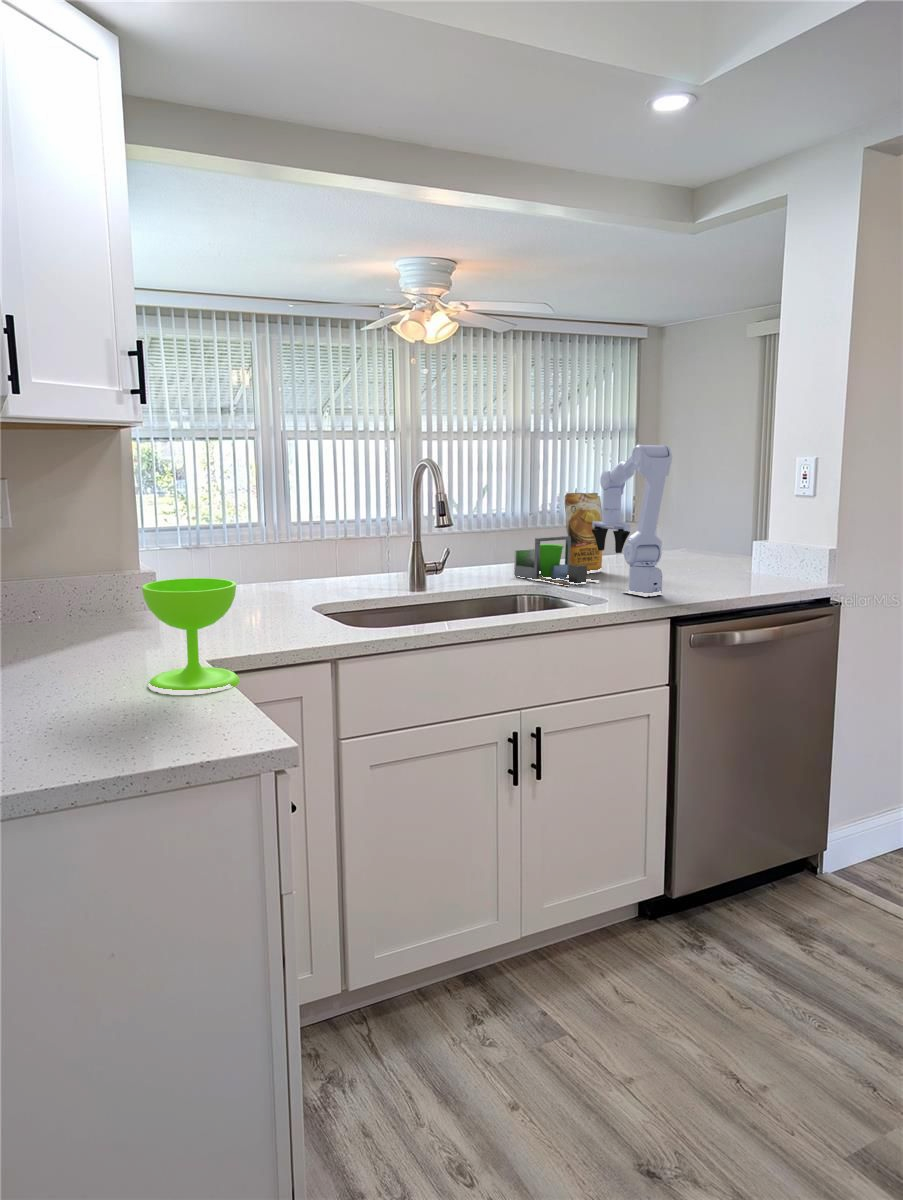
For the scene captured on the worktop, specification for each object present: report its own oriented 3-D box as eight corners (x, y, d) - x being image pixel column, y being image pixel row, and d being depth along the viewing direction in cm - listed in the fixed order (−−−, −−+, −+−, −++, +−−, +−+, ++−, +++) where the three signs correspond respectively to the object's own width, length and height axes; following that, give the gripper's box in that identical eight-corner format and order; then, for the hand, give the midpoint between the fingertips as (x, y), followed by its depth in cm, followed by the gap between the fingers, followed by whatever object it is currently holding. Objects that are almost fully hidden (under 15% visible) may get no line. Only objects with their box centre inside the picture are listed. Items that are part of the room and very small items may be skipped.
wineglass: (129, 684, 150) (123, 585, 147) (204, 667, 162) (200, 575, 159) (182, 701, 140) (177, 595, 137) (258, 681, 153) (255, 584, 150)
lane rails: (599, 583, 271) (599, 579, 271) (567, 587, 263) (567, 583, 263) (567, 577, 283) (567, 574, 283) (536, 580, 275) (536, 577, 275)
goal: (569, 577, 283) (570, 536, 281) (536, 581, 275) (537, 538, 272) (546, 573, 292) (548, 533, 290) (514, 576, 284) (515, 535, 281)
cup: (563, 580, 276) (564, 547, 274) (535, 580, 277) (536, 547, 275) (562, 576, 285) (563, 544, 283) (535, 576, 286) (536, 544, 284)
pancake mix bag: (555, 573, 292) (558, 492, 287) (595, 570, 302) (599, 491, 297) (568, 576, 286) (571, 493, 281) (609, 572, 297) (612, 492, 292)
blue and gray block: (588, 584, 270) (589, 565, 269) (574, 585, 266) (575, 566, 265) (564, 579, 279) (565, 561, 278) (550, 580, 275) (551, 562, 274)
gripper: (586, 508, 271) (584, 550, 273) (620, 511, 259) (618, 554, 261) (601, 507, 275) (599, 548, 277) (635, 510, 263) (633, 553, 266)
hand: (609, 551), depth 270 cm, fingers open, 7 cm apart
